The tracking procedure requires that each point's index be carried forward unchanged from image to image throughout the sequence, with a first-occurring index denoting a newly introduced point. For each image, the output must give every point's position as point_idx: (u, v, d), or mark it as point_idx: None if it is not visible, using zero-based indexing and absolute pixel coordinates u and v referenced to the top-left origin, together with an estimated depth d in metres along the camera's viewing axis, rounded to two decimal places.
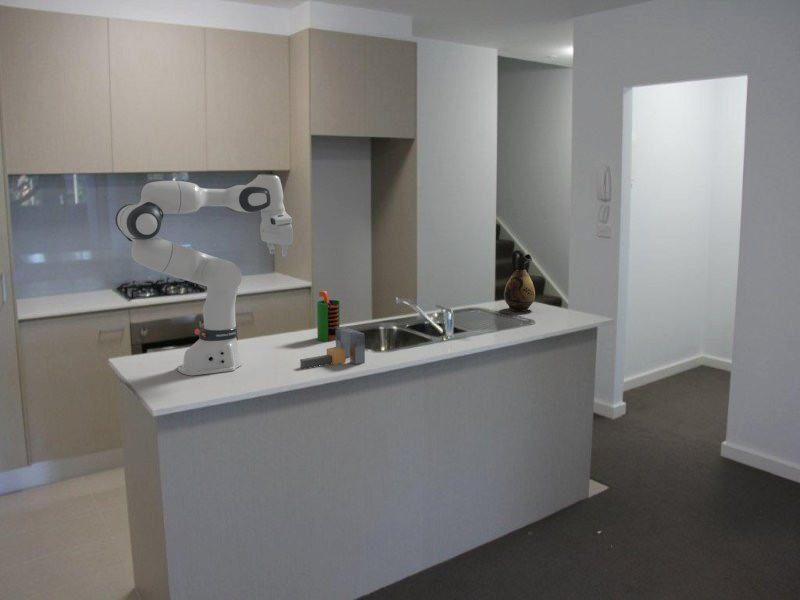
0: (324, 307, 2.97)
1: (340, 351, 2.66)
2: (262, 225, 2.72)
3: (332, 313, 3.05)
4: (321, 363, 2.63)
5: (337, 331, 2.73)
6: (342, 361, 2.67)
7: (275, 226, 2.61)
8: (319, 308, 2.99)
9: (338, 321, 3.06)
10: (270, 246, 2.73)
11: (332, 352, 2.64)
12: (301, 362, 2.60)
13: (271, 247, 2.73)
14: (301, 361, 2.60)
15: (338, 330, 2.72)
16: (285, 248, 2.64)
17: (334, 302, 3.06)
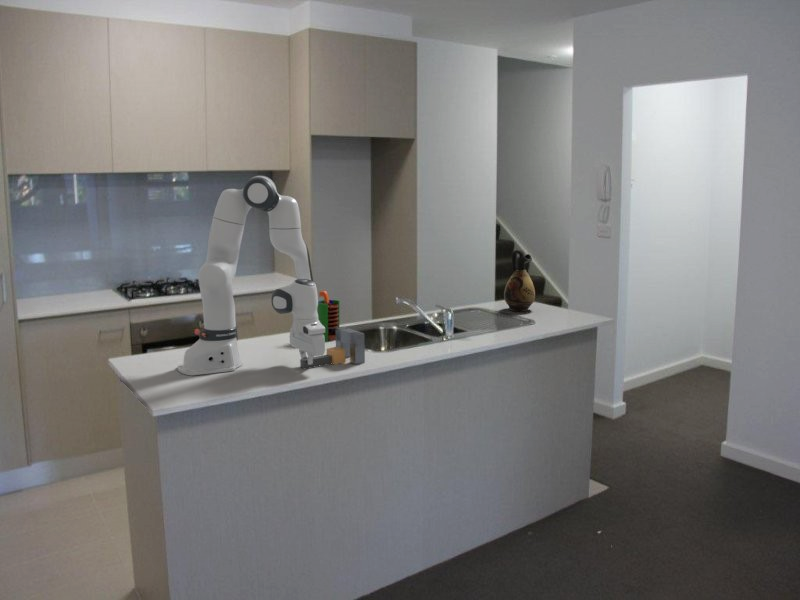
0: (324, 307, 2.97)
1: (340, 351, 2.66)
2: (292, 330, 2.64)
3: (332, 313, 3.05)
4: (321, 363, 2.63)
5: (337, 331, 2.73)
6: (342, 361, 2.67)
7: (307, 335, 2.52)
8: (319, 308, 2.99)
9: (338, 321, 3.06)
10: (302, 353, 2.62)
11: (332, 352, 2.64)
12: (301, 362, 2.60)
13: (303, 354, 2.63)
14: (301, 361, 2.60)
15: (338, 330, 2.72)
16: (311, 356, 2.58)
17: (334, 302, 3.06)
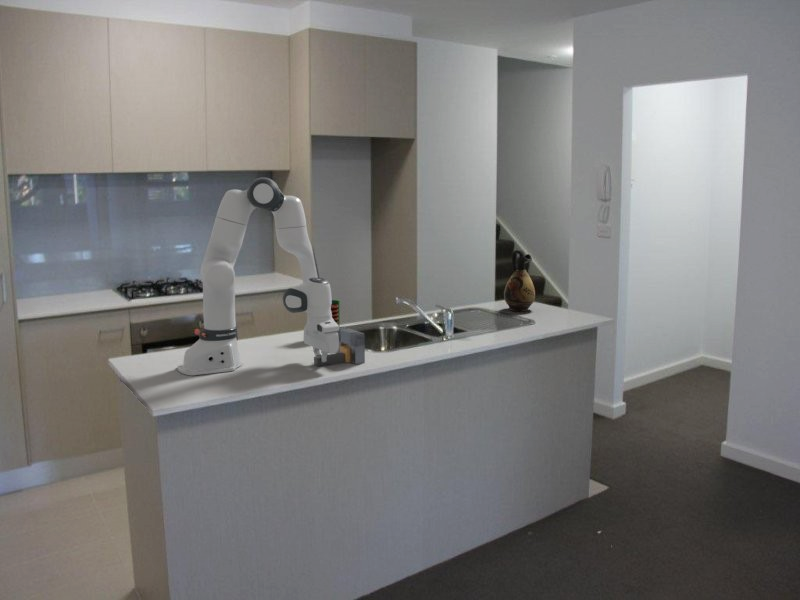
0: None
1: None
2: (306, 328, 2.66)
3: (332, 313, 3.05)
4: (335, 360, 2.66)
5: (337, 331, 2.73)
6: None
7: (321, 333, 2.55)
8: None
9: (338, 321, 3.06)
10: (316, 351, 2.65)
11: (346, 350, 2.67)
12: (315, 359, 2.63)
13: (317, 352, 2.65)
14: (315, 358, 2.63)
15: None
16: (325, 354, 2.61)
17: (334, 302, 3.06)
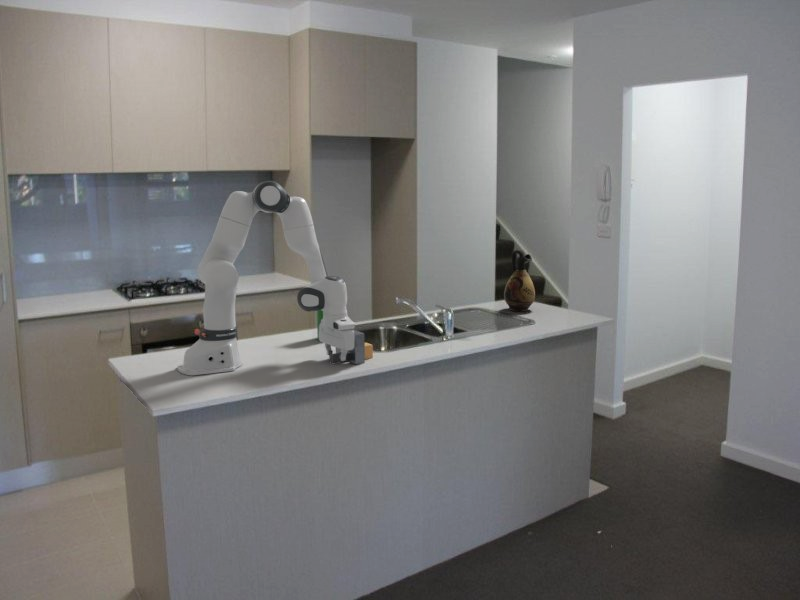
0: None
1: (368, 346, 2.72)
2: (322, 326, 2.70)
3: None
4: (349, 358, 2.70)
5: None
6: (369, 356, 2.73)
7: (337, 331, 2.59)
8: None
9: None
10: (327, 347, 2.71)
11: None
12: (330, 357, 2.67)
13: (328, 348, 2.71)
14: (330, 356, 2.66)
15: None
16: (344, 353, 2.62)
17: None
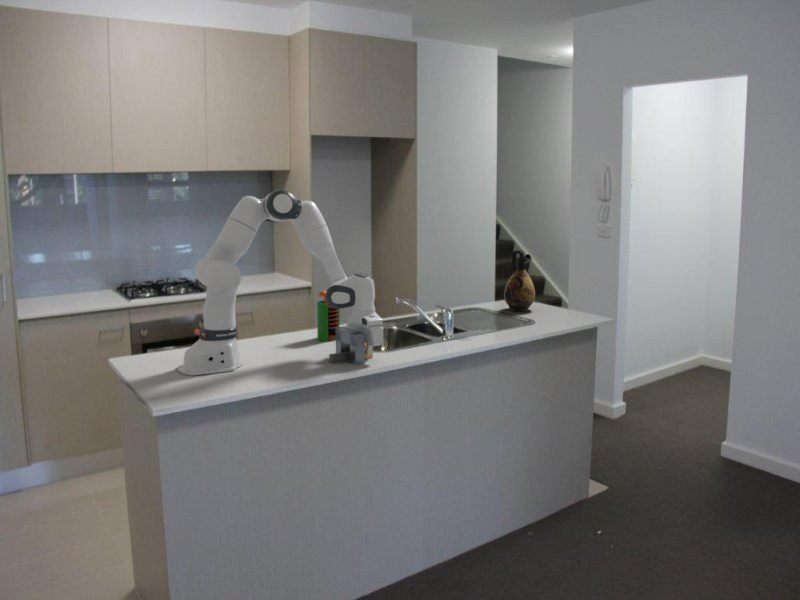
0: (324, 307, 2.97)
1: None
2: (349, 322, 2.77)
3: (332, 313, 3.05)
4: (349, 358, 2.70)
5: (337, 331, 2.73)
6: (369, 356, 2.73)
7: (366, 326, 2.66)
8: (319, 308, 2.99)
9: (338, 321, 3.06)
10: None
11: None
12: (330, 357, 2.67)
13: None
14: (330, 356, 2.66)
15: (338, 330, 2.72)
16: (370, 347, 2.70)
17: None
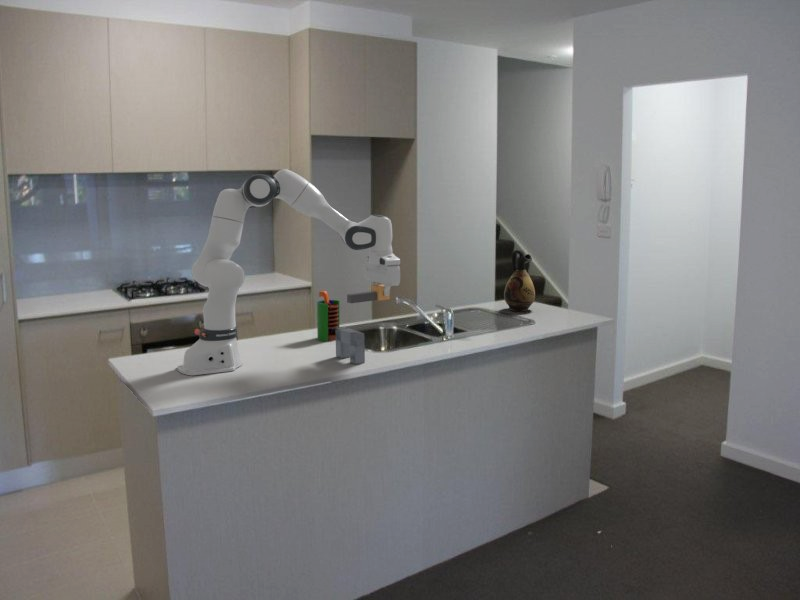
0: (324, 307, 2.97)
1: None
2: (367, 264, 2.78)
3: (332, 313, 3.05)
4: (367, 298, 2.70)
5: (337, 331, 2.73)
6: (387, 297, 2.74)
7: (384, 266, 2.67)
8: (319, 308, 2.99)
9: (338, 321, 3.06)
10: None
11: (378, 288, 2.72)
12: (348, 297, 2.67)
13: None
14: (348, 295, 2.67)
15: (338, 330, 2.72)
16: (388, 288, 2.71)
17: (334, 302, 3.06)
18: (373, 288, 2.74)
